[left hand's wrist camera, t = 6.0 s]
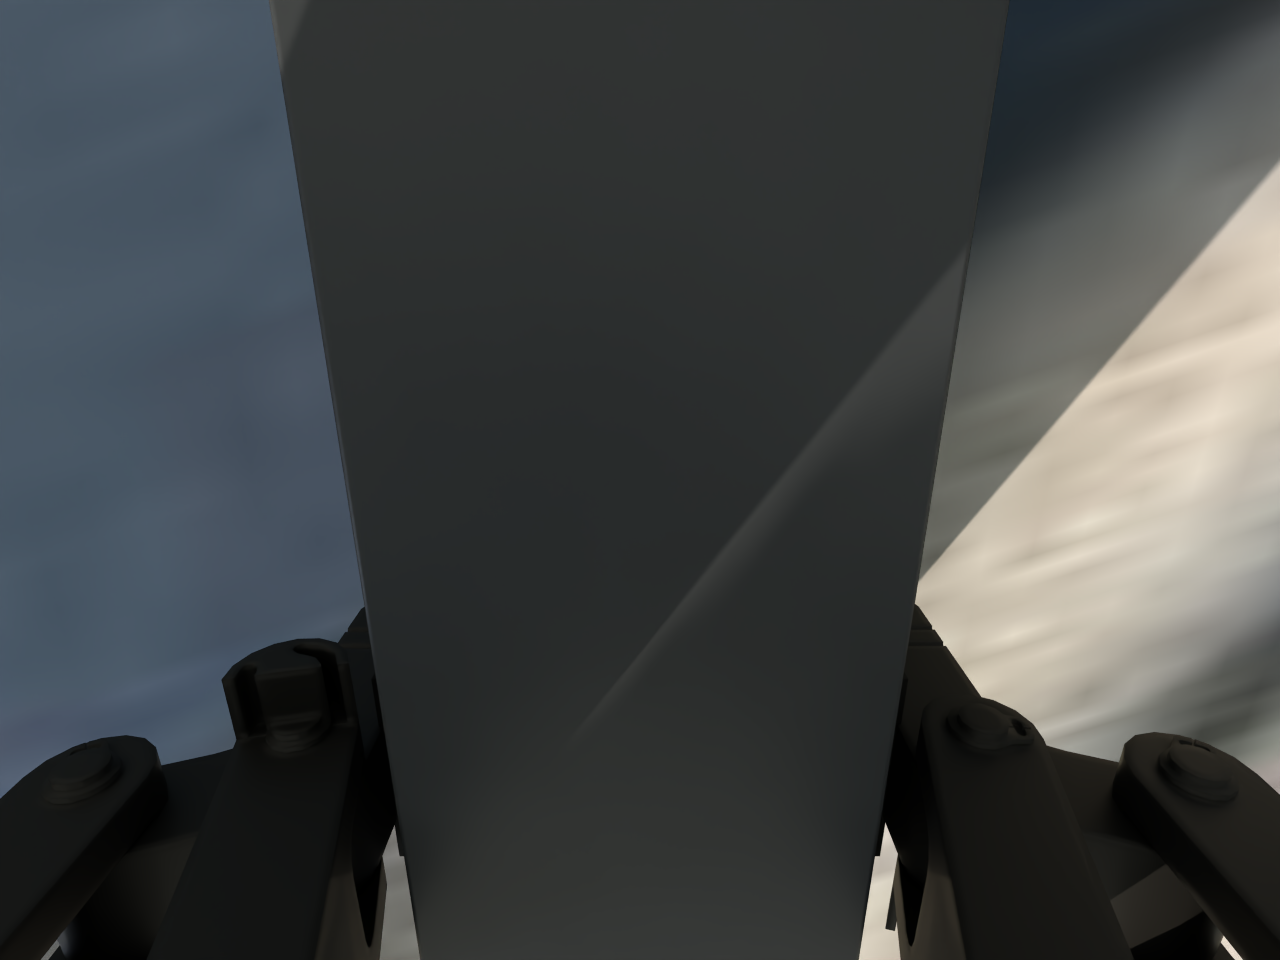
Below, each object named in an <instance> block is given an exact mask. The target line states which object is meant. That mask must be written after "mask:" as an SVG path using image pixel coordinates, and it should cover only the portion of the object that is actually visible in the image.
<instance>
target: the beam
mask: <svg viewBox="0 0 1280 960" xmlns="http://www.w3.org/2000/svg"><path fill="white" fill-rule="evenodd" d="M1009 1H1010V0H269V4H270V10H271V17H272V23H273V29H274V36H275V42H276V48H277V55H278V61H279V67H280V74H281V80H282V86H283V92H284V99H285V105H286V111H287V118H288V124H289V130H290V137H291V143H292V149H293V156H294V162H295V168H296V175H297V181H298V187H299V194H300V200H301V206H302V213H303V219H304V225H305V232H306V238H307V244H308V251H309V257H310V263H311V270H312V276H313V282H314V289H315V295H316V301H317V308H318V314H319V320H320V327H321V333H322V339H323V346H324V352H325V358H326V365H327V371H328V377H329V384H330V390H331V396H332V403H333V409H334V415H335V422H336V428H337V434H338V441H339V447H340V453H341V460H342V466H343V472H344V479H345V485H346V491H347V498H348V504H349V510H350V517H351V523H352V529H353V536H354V542H355V548H356V555H357V561H358V567H359V574H360V580H361V586H362V593H363V599H364V605H365V612H366V618H367V624H368V631H369V637H370V643H371V650H372V656H373V662H374V669H375V675H376V681H377V688H378V694H379V700H380V707H381V713H382V719H383V726H384V732H385V738H386V745H387V751H388V757H389V764H390V770H391V776H392V783H393V789H394V795H395V802H396V808H397V814H398V821H399V827H400V833H401V840H402V846H403V852H404V859H405V865H406V871H407V878H408V884H409V890H410V896H411V903H412V909H413V915H414V922H415V928H416V934H417V941H418V947H419V953H420V960H859V954H860V948H861V941H862V935H863V928H864V922H865V916H866V909H867V903H868V897H869V890H870V884H871V878H872V871H873V865H874V859H875V852H876V846H877V840H878V833H879V827H880V820H881V814H882V808H883V801H884V795H885V789H886V782H887V776H888V770H889V763H890V757H891V751H892V744H893V738H894V732H895V725H896V719H897V713H898V706H899V700H900V693H901V687H902V681H903V674H904V668H905V662H906V655H907V649H908V643H909V636H910V630H911V624H912V617H913V611H914V605H915V598H916V592H917V585H918V579H919V573H920V566H921V560H922V554H923V547H924V541H925V535H926V528H927V522H928V516H929V509H930V503H931V497H932V490H933V484H934V477H935V471H936V465H937V458H938V452H939V446H940V439H941V433H942V427H943V420H944V414H945V408H946V401H947V395H948V389H949V382H950V376H951V369H952V363H953V357H954V350H955V344H956V338H957V331H958V325H959V319H960V312H961V306H962V300H963V293H964V287H965V281H966V274H967V268H968V262H969V255H970V249H971V242H972V236H973V230H974V223H975V217H976V211H977V204H978V198H979V192H980V185H981V179H982V173H983V166H984V160H985V154H986V147H987V141H988V134H989V128H990V122H991V115H992V109H993V103H994V96H995V90H996V84H997V77H998V71H999V65H1000V58H1001V52H1002V46H1003V39H1004V33H1005V26H1006V20H1007V14H1008V7H1009Z"/></svg>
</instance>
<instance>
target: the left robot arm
mask: <svg viewBox="0 0 1280 960" xmlns="http://www.w3.org/2000/svg"><path fill="white" fill-rule="evenodd" d="M222 684H223V688H224V692H225V696H226V700H227V704H228V708H229V712H230V716H231V720H232V724H233V728H234V732H235V736H236V742H235V745H234V747H233V749H230V750H227V751H223V752H220V753H216V754H212V755H207V756H203V757H198V758H194V759H189V760H184V761H180V762H175V763H171V764H166V765H161V763H160V759H159V756H158V753H157V749H156V747H155V746H154V745H153V744H151V743H150V742H149V741H148V740H147V739H145V738H140V737H134V736H128V735H124V736H116V737H107V738H100V739H97V740H93V741H89V742H88V743H83V744H80V745H77V746H75V747H72V748H70V749H68V750H66V751H64V752H62V753H60V754H58V755H56V756H54V757H52V758H50V759H48V760H46V761H45V762H44V763H42V764H41V765H40V766H38V767H37V768H36V769H34V770H33V771H31V772H30V773H29V774H27V775H26V776H25V777H23V778H22V779H21V780H20V781H19V782H18V783H17V784H16V785H15V786H14V787H12V788H11V789H10V790H9V791H8V792H7V793H6V794H5V795H4V796H3V797H2V798H1V799H0V960H41V959H42V957H43V956H44V955H45V954H46V952H47V951H48V950H49V949H50V947H51V946H52V945H53V944H54V942H55V941H56V940H57V939H58V942H59V944H60V946H59V947H58V948H57V950H56V951H55V952H54V953H53V955H52V956H51V957H50V958H49V960H379V959H380V949H381V939H382V929H383V919H384V909H385V899H386V890H387V882H386V875H385V869H384V863H383V857H382V855H383V853H384V850H385V848H386V845H387V842H388V840H389V837H390V835H391V832H392V830H393V827H394V825H395V830H396V836H397V842H398V849H399V855H400V856H404V852H403V846H402V840H401V833H400V827H399V821H398V814H397V808H396V802H395V795H394V789H393V783H392V776H391V770H390V764H389V757H388V751H387V745H386V738H385V732H384V726H383V719H382V713H381V707H380V700H379V694H378V688H377V681H376V675H375V669H374V662H373V656H372V650H371V643H370V637H369V631H368V624H367V618H366V612H365V607H363V608H362V609H361V610H360V612H359V613H358V615H357V616H356V617H355V619H354V620H353V622H352V623H351V625H350V626H349V628H348V632H345V633H344V635H343V636H342V638H341V639H340V641H339V642H338V643H336V642H332V641H328V640H324V639H320V638H315V639H295V640H290V641H286V642H281V643H277V644H273V645H271V646H268V647H266V648H263V649H261V650H258V651H256V652H253V653H251V654H250V655H248V656H247V657H245V658H244V659H242V660H241V661H239V662H238V663H236V664H235V665H233V666H232V667H231V669H230V670H229V671H228V672H227V674H226V675H225V676H224V677H223V678H222ZM885 822H886V825H887V827H888V830H889V832H890V835H891V838H892V840H893V843H894V845H895V848H896V850H897V853H898V857H897V863H896V869H895V874H894V880H893V886H892V892H891V898H890V903H889V909H888V915H887V922H886V929H888V930H893V931H895V927H896V922H897V927H898V937H899V947H900V957H901V960H1235V959H1234V958H1233V957H1232V956H1231V955H1230V954H1229V952H1228V951H1227V950H1226V949H1225V947H1224V946H1223V945H1222V943H1221V940H1222V938H1223V935H1224V937H1225V938H1226V939H1227V940H1228V941H1229V943H1230V944H1231V945H1232V946H1233V948H1234V949H1235V950H1236V951H1237V953H1238V954H1239V955H1240V956H1241V958H1242V959H1243V960H1280V795H1279V794H1278V793H1277V792H1276V791H1275V790H1274V789H1273V788H1272V787H1271V786H1270V785H1269V784H1267V783H1266V782H1265V781H1264V780H1263V779H1262V778H1261V777H1260V776H1259V775H1258V774H1256V773H1255V772H1254V771H1252V770H1251V769H1250V768H1248V767H1247V766H1245V765H1244V764H1243V763H1241V762H1240V761H1239V760H1237V759H1236V758H1235V757H1233V756H1231V755H1229V754H1227V753H1225V752H1223V751H1221V750H1219V749H1217V748H1215V747H1213V746H1211V745H1209V744H1207V743H1204V742H1201V741H1198V740H1193V739H1192V738H1188V737H1184V736H1181V735H1175V734H1166V733H1158V732H1152V733H1146V734H1139V735H1135V736H1134V737H1132V738H1131V739H1130V740H1129V741H1128V742H1126V743H1125V744H1124V747H1123V751H1122V754H1121V757H1120V761H1119V762H1114V761H1110V760H1105V759H1100V758H1096V757H1091V756H1086V755H1082V754H1077V753H1073V752H1068V751H1064V750H1060V749H1057V748H1053V747H1050V746H1046V744H1045V741H1044V739H1043V738H1042V736H1041V735H1040V733H1039V732H1038V730H1037V729H1036V728H1035V726H1034V725H1033V724H1032V723H1031V722H1030V721H1029V720H1027V719H1026V718H1025V717H1023V716H1022V715H1021V714H1019V713H1018V712H1017V711H1016V710H1013V709H1011V708H1009V707H1007V706H1005V705H1003V704H1001V703H998V702H996V701H994V700H990V699H986V698H982V697H981V696H980V694H979V693H978V692H977V690H976V689H975V687H974V686H973V684H972V683H971V681H970V680H969V679H968V677H967V676H966V674H965V673H964V671H963V670H962V668H961V667H960V666H959V664H958V663H957V661H956V660H955V658H954V657H953V656H952V654H951V653H950V651H949V650H948V648H947V647H946V646H943V641H942V640H941V638H940V637H939V635H938V634H937V632H936V631H935V630H932V625H931V624H930V622H929V621H928V619H927V618H926V617H925V615H924V614H923V612H922V611H921V609H920V608H919V607H918V606H917V605H916V604H915V605H914V611H913V617H912V624H911V630H910V636H909V643H908V649H907V655H906V662H905V668H904V674H903V681H902V687H901V693H900V700H899V706H898V713H897V719H896V725H895V732H894V738H893V744H892V751H891V757H890V763H889V770H888V776H887V782H886V789H885V795H884V801H883V808H882V814H881V820H880V827H879V833H878V840H877V846H876V852H875V856H880V852H881V846H882V840H883V833H884V827H885Z"/></svg>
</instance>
